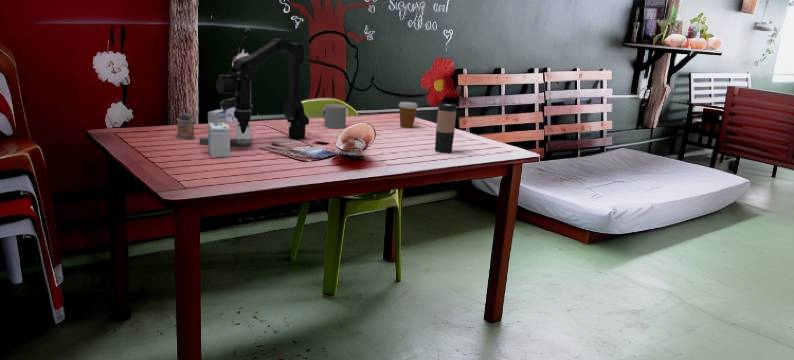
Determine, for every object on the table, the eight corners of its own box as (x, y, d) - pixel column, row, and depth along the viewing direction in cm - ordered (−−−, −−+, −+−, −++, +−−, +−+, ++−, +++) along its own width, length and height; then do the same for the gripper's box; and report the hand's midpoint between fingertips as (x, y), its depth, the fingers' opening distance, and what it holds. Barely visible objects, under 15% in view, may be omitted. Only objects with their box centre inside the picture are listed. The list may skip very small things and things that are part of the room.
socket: (250, 136, 242) (250, 124, 241) (250, 139, 237) (250, 126, 235) (236, 135, 241) (236, 123, 240) (235, 139, 236) (235, 126, 234)
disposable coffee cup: (404, 124, 306) (406, 101, 303) (419, 127, 301) (421, 103, 298) (393, 126, 299) (394, 102, 295) (408, 129, 294) (410, 105, 290)
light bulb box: (208, 150, 227) (207, 122, 224) (226, 150, 230) (226, 122, 227) (211, 157, 218) (211, 128, 215) (230, 157, 221) (230, 128, 218)
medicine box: (217, 132, 257) (217, 112, 255) (208, 131, 258) (207, 111, 256) (226, 129, 265) (226, 110, 263) (217, 128, 266) (216, 109, 263)
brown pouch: (175, 137, 244) (174, 112, 241) (180, 135, 247) (180, 111, 244) (191, 140, 241) (190, 115, 239) (196, 138, 244) (196, 114, 242)
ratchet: (251, 143, 243) (251, 128, 242) (251, 147, 237) (251, 132, 236) (200, 142, 239) (200, 127, 238) (199, 145, 233) (198, 130, 232)
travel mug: (440, 153, 249) (444, 105, 244) (430, 149, 256) (435, 102, 250) (455, 153, 253) (460, 105, 247) (446, 148, 259) (450, 102, 254)
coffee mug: (349, 128, 288) (350, 107, 285) (331, 129, 281) (332, 108, 279) (333, 122, 297) (334, 102, 295) (316, 124, 291) (317, 103, 288)
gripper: (223, 87, 241) (224, 126, 245) (219, 94, 223) (220, 135, 228) (252, 88, 243) (252, 126, 248) (250, 95, 226) (250, 136, 230)
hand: (243, 131), depth 238 cm, fingers open, 7 cm apart
